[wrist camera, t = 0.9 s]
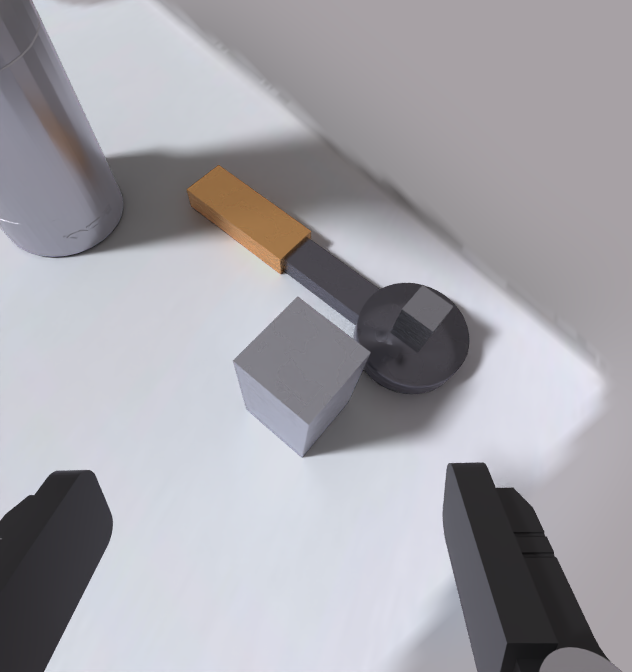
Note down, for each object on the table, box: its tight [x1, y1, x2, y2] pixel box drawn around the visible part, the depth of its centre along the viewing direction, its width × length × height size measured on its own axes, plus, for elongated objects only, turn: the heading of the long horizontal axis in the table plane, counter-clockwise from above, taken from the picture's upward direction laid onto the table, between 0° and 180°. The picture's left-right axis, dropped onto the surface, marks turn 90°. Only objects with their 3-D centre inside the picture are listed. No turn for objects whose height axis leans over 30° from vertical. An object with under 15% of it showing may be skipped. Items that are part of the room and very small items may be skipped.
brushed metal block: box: [233, 297, 371, 457], centre depth 27 cm, size 5×5×9 cm
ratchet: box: [187, 165, 469, 394], centre depth 33 cm, size 25×8×6 cm, turn 50°
